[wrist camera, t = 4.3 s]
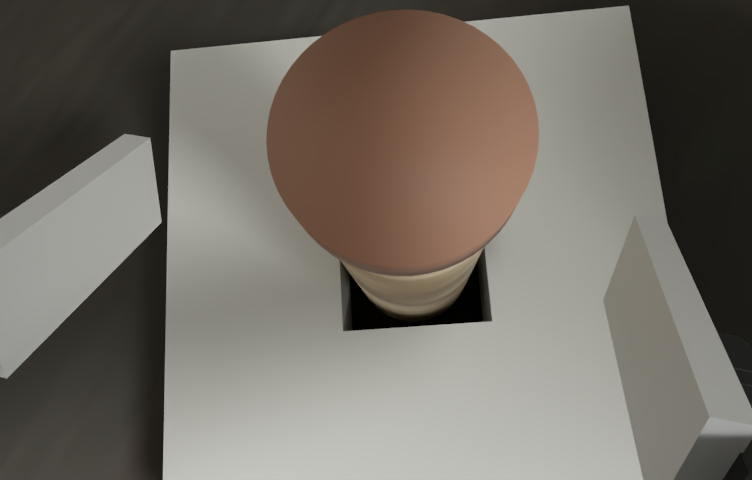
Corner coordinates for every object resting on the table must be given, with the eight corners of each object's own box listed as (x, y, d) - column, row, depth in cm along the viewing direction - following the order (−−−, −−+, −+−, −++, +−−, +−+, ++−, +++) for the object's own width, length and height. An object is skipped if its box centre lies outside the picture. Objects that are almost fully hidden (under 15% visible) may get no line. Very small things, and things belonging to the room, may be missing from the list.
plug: (466, 206, 24) (522, -4, 11) (478, 322, 23) (555, 253, 10) (351, 215, 25) (263, 22, 11) (357, 330, 24) (269, 275, 10)
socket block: (605, 47, 25) (628, 5, 22) (678, 492, 21) (718, 511, 18) (198, 86, 27) (170, 50, 24) (195, 516, 22) (161, 537, 20)
